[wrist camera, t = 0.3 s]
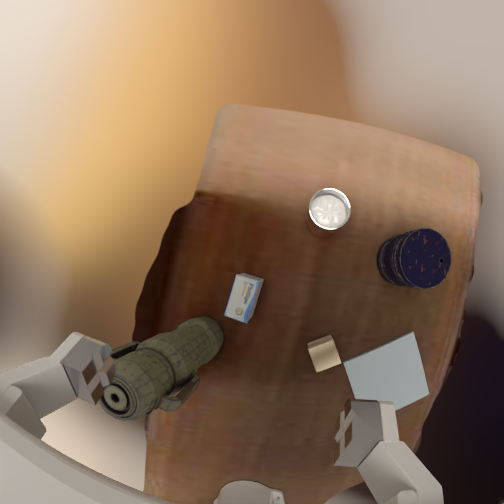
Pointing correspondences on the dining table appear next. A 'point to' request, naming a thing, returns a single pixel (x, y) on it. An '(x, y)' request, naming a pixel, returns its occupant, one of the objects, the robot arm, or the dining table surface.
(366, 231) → the dining table surface
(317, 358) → the birch cube
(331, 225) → the beer glass
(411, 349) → the mat
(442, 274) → the storage jar
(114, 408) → the thermos
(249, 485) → the robot arm
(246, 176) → the dining table surface
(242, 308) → the medicine box
